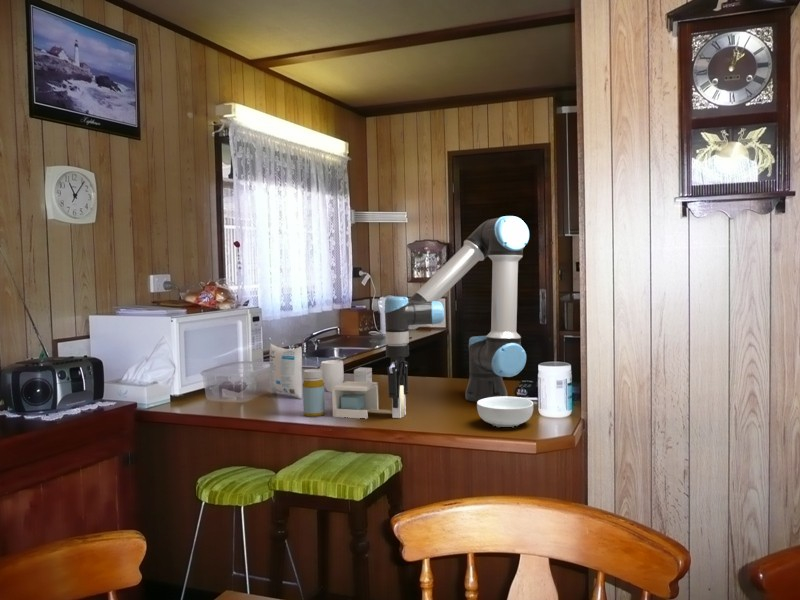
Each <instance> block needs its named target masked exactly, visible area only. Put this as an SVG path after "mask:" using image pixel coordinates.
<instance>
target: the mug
mask: <svg viewBox="0 0 800 600" xmlns="http://www.w3.org/2000/svg"><path fill="white" fill-rule="evenodd" d="M318 369H321V370H322V380H323V383H324V388H325V389H326V391H327V392H329V393H332V390H333V387H334V386H336V385H339V384H341V383H344V377H345V375H344V360H340V359H339V360H338V359H335V360H334V359H331V360H323V361H321V362H320V367H319V368H318Z"/></svg>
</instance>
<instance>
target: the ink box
mask: <svg viewBox="0 0 800 600" xmlns="http://www.w3.org/2000/svg"><path fill="white" fill-rule="evenodd" d="M372 369H373V368H372V367H357V368H355V369H354V370H353V382H373V372H372V371H373V370H372Z"/></svg>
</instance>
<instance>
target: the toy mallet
mask: <svg viewBox="0 0 800 600" xmlns="http://www.w3.org/2000/svg"><path fill="white" fill-rule="evenodd" d="M399 398H401V418H404V417H405V415H404V386H403V385H400V393H399ZM341 409H351V410H368V413H374V414H391V415H392V409H365V395H361V394H347V395H345V396H343V397H341ZM401 418H400V419H401Z"/></svg>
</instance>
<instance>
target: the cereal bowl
mask: <svg viewBox="0 0 800 600" xmlns="http://www.w3.org/2000/svg"><path fill="white" fill-rule="evenodd" d="M476 409H477V413H478V416H479V417H480V418H481V419H482V420H483V421H484V422H485V423H488V424H491V425H492V426H493V427H495V426H496V428H500V427H512V428H515V427H514V426H516V427H518V426H520V425H521V424H523V423H526V422H527V421H529V420H530V419H531V417H532V416H533V413H534V402H533V401H532V400H531V399H528V398H524V397H519V396H508V395H507V396H500V397H489V398H484V399H481V400H479V401H478V402H476Z"/></svg>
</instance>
